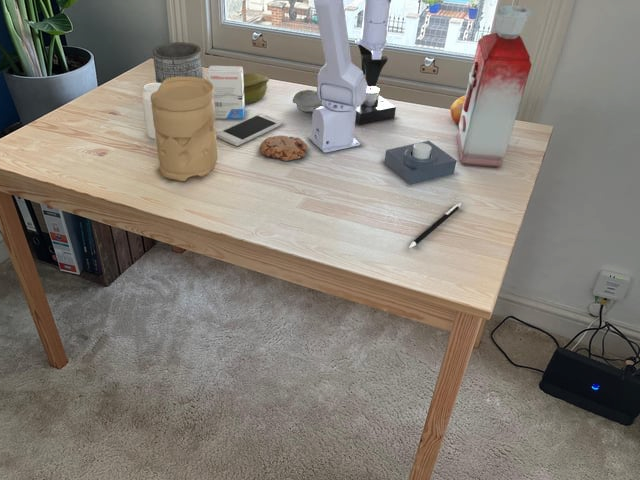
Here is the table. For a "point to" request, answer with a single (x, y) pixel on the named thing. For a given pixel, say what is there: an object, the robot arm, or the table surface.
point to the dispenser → (419, 163)
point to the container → (185, 127)
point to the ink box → (227, 91)
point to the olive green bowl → (254, 87)
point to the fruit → (457, 109)
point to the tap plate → (375, 112)
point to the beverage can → (149, 107)
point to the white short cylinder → (421, 151)
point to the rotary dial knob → (371, 97)
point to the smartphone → (248, 129)
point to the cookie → (283, 147)
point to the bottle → (494, 90)
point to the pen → (435, 225)
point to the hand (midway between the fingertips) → (368, 79)
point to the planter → (177, 61)
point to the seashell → (307, 100)
